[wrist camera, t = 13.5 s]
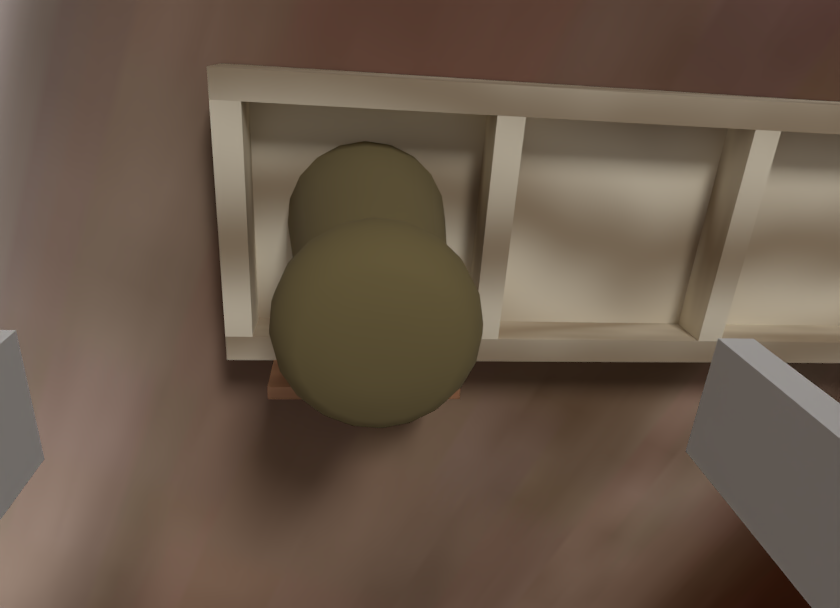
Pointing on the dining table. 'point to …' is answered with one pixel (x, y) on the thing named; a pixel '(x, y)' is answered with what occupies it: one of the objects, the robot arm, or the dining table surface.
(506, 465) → the dining table surface
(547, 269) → the tray
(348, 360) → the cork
